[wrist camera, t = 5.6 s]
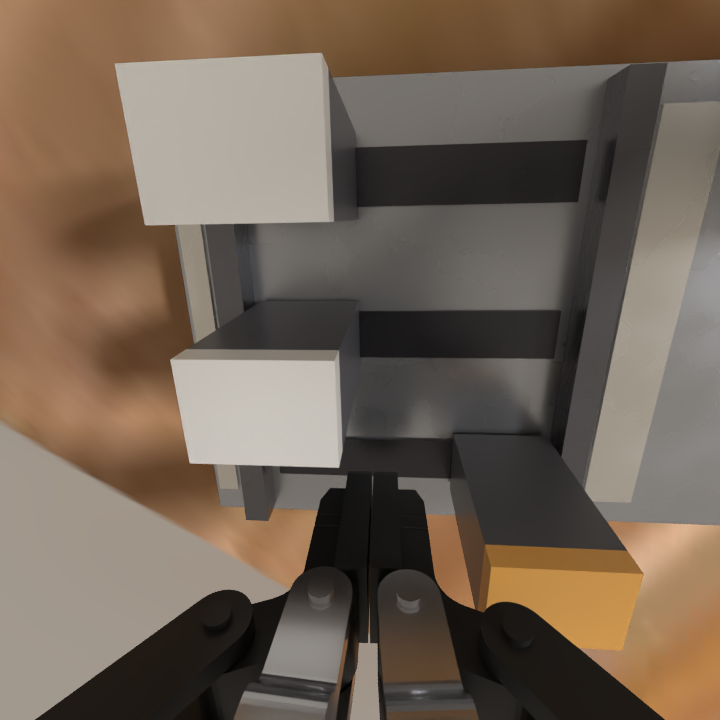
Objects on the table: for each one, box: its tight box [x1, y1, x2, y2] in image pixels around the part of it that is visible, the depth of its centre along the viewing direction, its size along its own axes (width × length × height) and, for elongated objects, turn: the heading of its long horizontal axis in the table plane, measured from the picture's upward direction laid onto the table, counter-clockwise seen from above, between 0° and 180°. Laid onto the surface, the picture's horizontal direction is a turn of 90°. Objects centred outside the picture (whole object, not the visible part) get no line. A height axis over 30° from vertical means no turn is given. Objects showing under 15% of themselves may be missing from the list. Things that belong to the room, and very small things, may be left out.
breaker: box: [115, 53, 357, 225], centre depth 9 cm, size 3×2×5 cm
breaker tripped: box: [450, 434, 644, 651], centre depth 11 cm, size 3×2×5 cm
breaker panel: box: [174, 59, 720, 525], centre depth 13 cm, size 19×14×2 cm
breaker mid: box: [170, 301, 360, 468], centre depth 10 cm, size 3×2×5 cm
